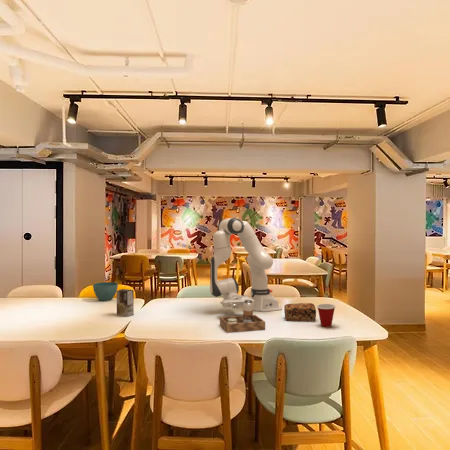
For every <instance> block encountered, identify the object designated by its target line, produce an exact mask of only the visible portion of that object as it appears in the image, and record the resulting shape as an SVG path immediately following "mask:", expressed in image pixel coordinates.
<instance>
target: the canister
mask: <svg viewBox="0 0 450 450" xmlns="http://www.w3.org/2000/svg"><path fill="white" fill-rule="evenodd" d="M242 309H243V312H242V314H243V315H242V316H243V323H247V322H253V315H254V310H253V302H252V300H245V301H244V302H243V307H242Z"/></svg>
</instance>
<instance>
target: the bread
mask: <svg viewBox="0 0 450 450" xmlns="http://www.w3.org/2000/svg"><path fill="white" fill-rule="evenodd" d="M284 318H285V321H286V322H315V321H316V320H317V309H316V305H315V303H312V302H306V303H305V302H304V303H303V302H300V303H286V304H284Z"/></svg>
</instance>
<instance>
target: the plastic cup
mask: <svg viewBox="0 0 450 450" xmlns="http://www.w3.org/2000/svg"><path fill="white" fill-rule="evenodd" d="M316 308H317V312H318V315H319V321H320V326H321V327H322V328H331V327H332V324H333V320H334V314H335V309H336V305H335V304H332V303H320V304H319V303H318V304H317V305H316Z"/></svg>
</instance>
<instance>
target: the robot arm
mask: <svg viewBox="0 0 450 450" xmlns="http://www.w3.org/2000/svg"><path fill="white" fill-rule="evenodd" d="M232 235H237V236H238V238H239V240H240V242H241V244H242V246H243V248H244V250H245V251H246V252H247V253H248V255H247V259H246V260H247V263H248V267H249V269H250V275H251V288H250V296H251V297H249V295H245V294H244V295H243V294H239V290H240V287H239V283H238V281H237V280H236V279H235V278H234V277H230V278H229V277H228V278H224V279H221V280H218V268H219V266H220V265H222V264H223V263H225V262H226V261H228V259H229V258H230V257H231V255H232V246H231V242H230V239H231V236H232ZM212 236H213V237H212V238H213V241H212V242H213V243H212V244H213V250H214V251H213V256H212V257H211V258H210V271H209V272H210V279H209V281H210V282H209V283H210V284H209V292H210V294H211V295H212V296H213V297H215V298H218V297H221V296H222V299H221V300H222V301H220V302H219V303H220V304H221V306H222V308H231V309H239V308H241V307H242V308H243V302H244V301H245V300H252V302H253V311H255V312H262V313H266V312H274V311H280V310H281V311H282V309H283V307H282V306H280V304H279V301H278V299H277V298H276V297H275V296H273V295H272V294H271V293H273V291H274V290H273V289H271V288H268V281H269V280H268V279H269V278H268V275H267V273H266V270H269V269H271V268H272V266H273V265H274V259H273V257H272V256H271V255H270V254H269V253H268V252H267V250H266V249H265V248H264V246H263V245H262V244H261V242H260V240H259V239H258V237H257V235H256V232H255V231H254V229H253V228H252V226H251V224H250V223H249V222H248V221H246V220H241V219H239V218H237V217H228V218H224V219H221V221H219V222H218V225H217V230H216V232H214V233H213V235H212Z"/></svg>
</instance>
